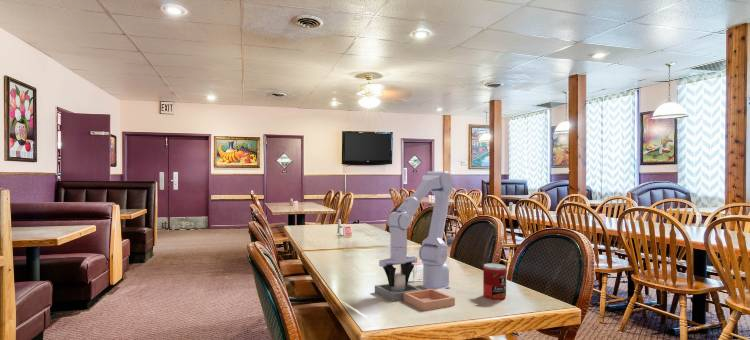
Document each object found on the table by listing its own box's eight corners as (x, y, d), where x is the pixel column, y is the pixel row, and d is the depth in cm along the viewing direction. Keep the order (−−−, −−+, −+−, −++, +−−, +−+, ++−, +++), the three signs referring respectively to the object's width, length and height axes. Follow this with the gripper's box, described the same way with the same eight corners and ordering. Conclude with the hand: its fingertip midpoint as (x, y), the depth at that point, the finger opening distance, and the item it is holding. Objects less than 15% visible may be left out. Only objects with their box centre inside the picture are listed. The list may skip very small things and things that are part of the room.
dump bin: (432, 297, 147) (432, 288, 147) (454, 307, 137) (454, 297, 137) (403, 302, 141) (403, 293, 141) (424, 312, 131) (424, 302, 131)
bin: (403, 289, 156) (403, 281, 156) (422, 298, 146) (422, 289, 146) (374, 294, 150) (374, 285, 150) (392, 303, 140) (392, 294, 140)
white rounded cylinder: (400, 286, 151) (400, 272, 151) (408, 289, 147) (408, 275, 147) (388, 288, 149) (388, 274, 149) (395, 291, 144) (396, 277, 145)
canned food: (494, 301, 143) (494, 268, 143) (478, 295, 150) (478, 264, 150) (511, 298, 147) (511, 266, 147) (494, 292, 154) (494, 262, 154)
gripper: (409, 243, 155) (409, 280, 155) (374, 246, 148) (374, 285, 148) (420, 246, 149) (420, 284, 149) (385, 249, 142) (384, 289, 142)
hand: (398, 285), depth 148 cm, fingers closed on white rounded cylinder, 5 cm apart
